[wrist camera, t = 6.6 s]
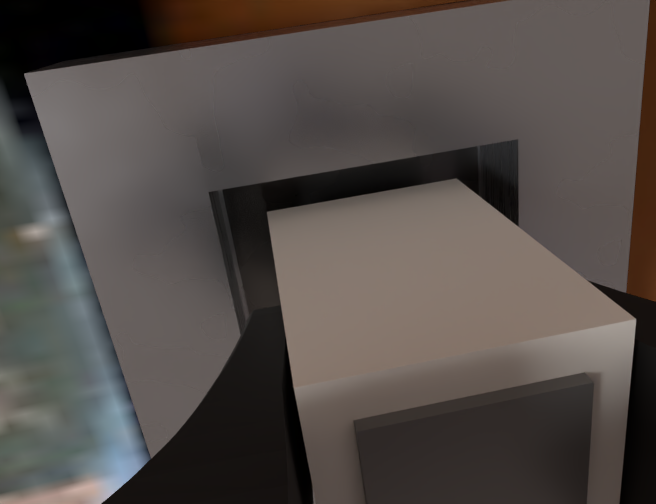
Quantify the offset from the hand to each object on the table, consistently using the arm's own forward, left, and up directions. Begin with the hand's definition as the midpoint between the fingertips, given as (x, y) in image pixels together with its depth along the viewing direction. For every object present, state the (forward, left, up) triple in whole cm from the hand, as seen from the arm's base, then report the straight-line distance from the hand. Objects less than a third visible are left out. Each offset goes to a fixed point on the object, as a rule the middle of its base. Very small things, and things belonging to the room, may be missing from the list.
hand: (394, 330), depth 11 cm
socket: (0, 0, -4) cm, 4 cm away
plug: (0, 0, -2) cm, 2 cm away
